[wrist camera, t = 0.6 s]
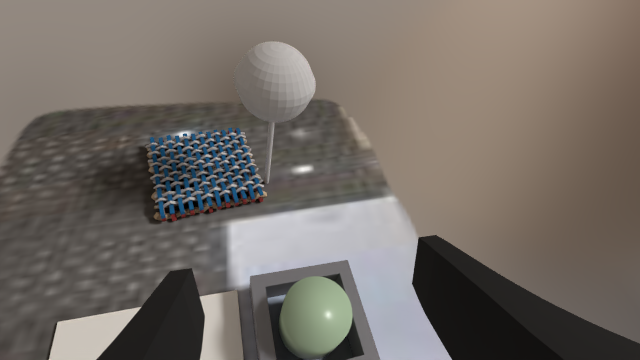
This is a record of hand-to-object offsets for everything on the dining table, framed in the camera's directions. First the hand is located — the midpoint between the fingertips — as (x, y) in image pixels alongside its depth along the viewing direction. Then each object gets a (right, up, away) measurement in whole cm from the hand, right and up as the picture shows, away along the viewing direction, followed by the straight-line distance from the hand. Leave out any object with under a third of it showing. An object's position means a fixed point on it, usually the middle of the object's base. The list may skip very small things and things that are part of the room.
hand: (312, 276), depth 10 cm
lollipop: (-5, +3, +23) cm, 24 cm away
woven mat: (-12, +3, +23) cm, 26 cm away
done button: (0, -8, +13) cm, 15 cm away
